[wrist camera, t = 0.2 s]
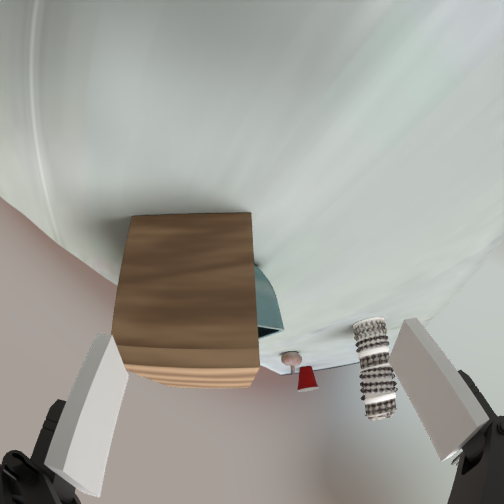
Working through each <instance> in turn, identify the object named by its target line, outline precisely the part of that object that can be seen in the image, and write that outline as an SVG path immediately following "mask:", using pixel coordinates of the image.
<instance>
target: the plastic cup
mask: <svg viewBox="0 0 504 504" xmlns="http://www.w3.org/2000/svg"><path fill="white" fill-rule="evenodd" d="M318 388H319V387H318V386H317V383H316V380H315V377H314V373H313V370H312V367H311V366H306V367H301V368H300V371H299V383H298V390H297V392H304V391H310V390H315V389H318Z"/></svg>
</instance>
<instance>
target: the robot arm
mask: <svg viewBox="0 0 504 504" xmlns="http://www.w3.org/2000/svg"><path fill="white" fill-rule="evenodd" d="M388 362H389V363H390V365H391V367H392V369H393V370H394V372H395V374H396V375H397V377H398V379H399V381H400V383H401V384H402V386H403V388H404V390H405V392H406V393H407V395H408V397H409V399H410V400H411V402H412V404H413V406H414V408H415V410H416V412H417V414H418V416H419V418H420V419H421V421H422V423H423V425H424V427H425V429H426V431H427V433H428V435H429V437H430V439H431V441H432V443H433V445H434V447H435V449H436V451H437V453H438V455H439V457H440V460H441V461H443V460H445V459H447V458H449V457H451V456H453V455H454V454H455V453H456V452H457V451H458V450H460V449H461V448H462V449H463V452H461V454H459V455H458V456H457V457H456V458H455V459H454V460H453V462H452V463H451V465H453V464H455V463H456V462H457V461H458V460H459V462H458V463H457V464H456V466H458V468H457V472H456V476H455V480H454V484H453V487H452V490H451V494H450V497H449V500H448V504H504V416H499V417H498V416H497V415H496V414H495V413H494V411H493V410H492V408H491V407H490V405H489V404H488V403H487V401H486V399H485V398H484V396H483V395H482V394H481V392H479V389H478V388H477V386H475V384H474V382H473V381H472V379H471V378H470V377H469V376H468V375H467V374H466V373H464V372H463V371H462V370H459V371H457V370H456V369H455V367H454V366H453V365H452V363H451V362H450V360H449V359H448V358H447V357H446V355H445V354H444V353H443V351H442V350H441V349H440V347H439V346H438V345H437V343H436V342H435V341H434V339H433V338H432V337H431V336H430V334H429V333H428V332H427V331H426V329H425V328H424V327H423V326H422V324H421V323H420V322H419V321H418V319H417V318H412V319H406V320H404V321H403V324H402V327H401V330H400V332H399V335H398V337H397V340H396V343H395V345H394V347H393V350H392V352H391V355H390V357H389V359H388ZM128 378H129V376H128V373H127V371H126V369H125V366H124V364H123V361H122V359H121V356H120V354H119V351H118V349H117V346H116V343H115V341H114V338H113V335H106V334H97V336H96V338H95V340H94V342H93V344H92V346H91V348H90V350H89V352H88V354H87V356H86V359H85V361H84V363H83V365H82V367H81V369H80V371H79V374H78V376H77V378H76V380H75V383H74V385H73V387H72V389H71V392H70V394H69V397H68V399H67V401H63V400H59V399H58V400H57V401H56V402H55V403H54V404H53V405H52V406H51V407H50V409H49V412H48V414H47V416H46V420H45V421H44V424H43V428H42V429H41V431H40V434H39V437H38V439H37V442H36V445H35V448H34V451H33V454H32V456H31V458H30V459H29V458H28V457H27V456H26V455H24V454H23V453H22V452H21V451H18V450H12V451H9V452H8V453H6V455H5V456H4V458H3V461H2V465H1V464H0V504H81V502H80V500H79V499H78V497H77V495H76V494H75V488H77V489H78V490H80V491H81V492H83V493H86V494H89V495H92V496H96V497H100V494H101V488H102V483H103V478H104V473H105V468H106V463H107V458H108V454H109V450H110V445H111V441H112V437H113V432H114V429H115V425H116V421H117V417H118V413H119V409H120V406H121V402H122V399H123V395H124V392H125V388H126V385H127V381H128Z"/></svg>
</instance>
